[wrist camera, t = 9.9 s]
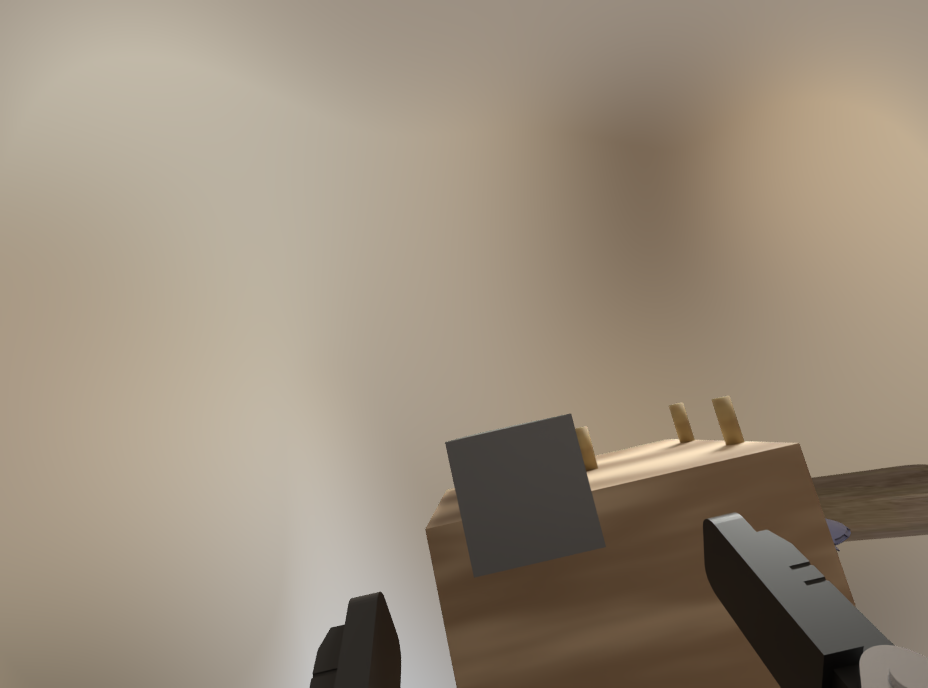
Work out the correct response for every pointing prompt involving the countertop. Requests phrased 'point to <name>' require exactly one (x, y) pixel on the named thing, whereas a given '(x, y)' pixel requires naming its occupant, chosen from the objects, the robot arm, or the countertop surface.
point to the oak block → (633, 571)
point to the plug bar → (524, 495)
